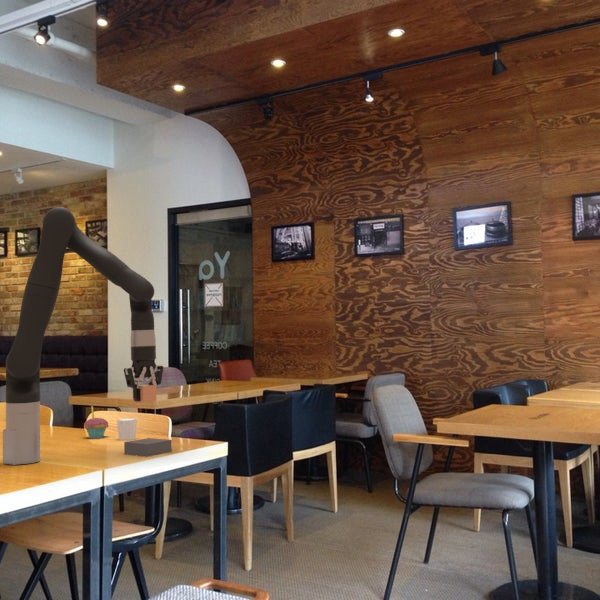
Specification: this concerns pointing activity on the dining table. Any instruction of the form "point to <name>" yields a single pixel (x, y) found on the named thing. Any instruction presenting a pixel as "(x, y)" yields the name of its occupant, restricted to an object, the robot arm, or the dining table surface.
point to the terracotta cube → (147, 393)
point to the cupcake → (95, 426)
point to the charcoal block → (148, 447)
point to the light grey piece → (127, 428)
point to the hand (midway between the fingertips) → (144, 400)
